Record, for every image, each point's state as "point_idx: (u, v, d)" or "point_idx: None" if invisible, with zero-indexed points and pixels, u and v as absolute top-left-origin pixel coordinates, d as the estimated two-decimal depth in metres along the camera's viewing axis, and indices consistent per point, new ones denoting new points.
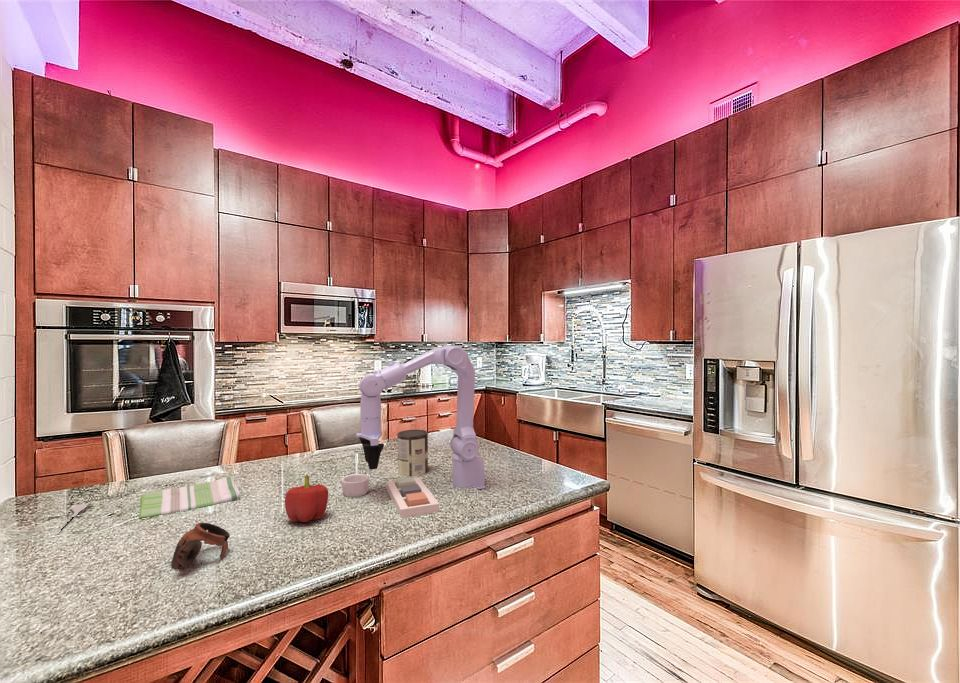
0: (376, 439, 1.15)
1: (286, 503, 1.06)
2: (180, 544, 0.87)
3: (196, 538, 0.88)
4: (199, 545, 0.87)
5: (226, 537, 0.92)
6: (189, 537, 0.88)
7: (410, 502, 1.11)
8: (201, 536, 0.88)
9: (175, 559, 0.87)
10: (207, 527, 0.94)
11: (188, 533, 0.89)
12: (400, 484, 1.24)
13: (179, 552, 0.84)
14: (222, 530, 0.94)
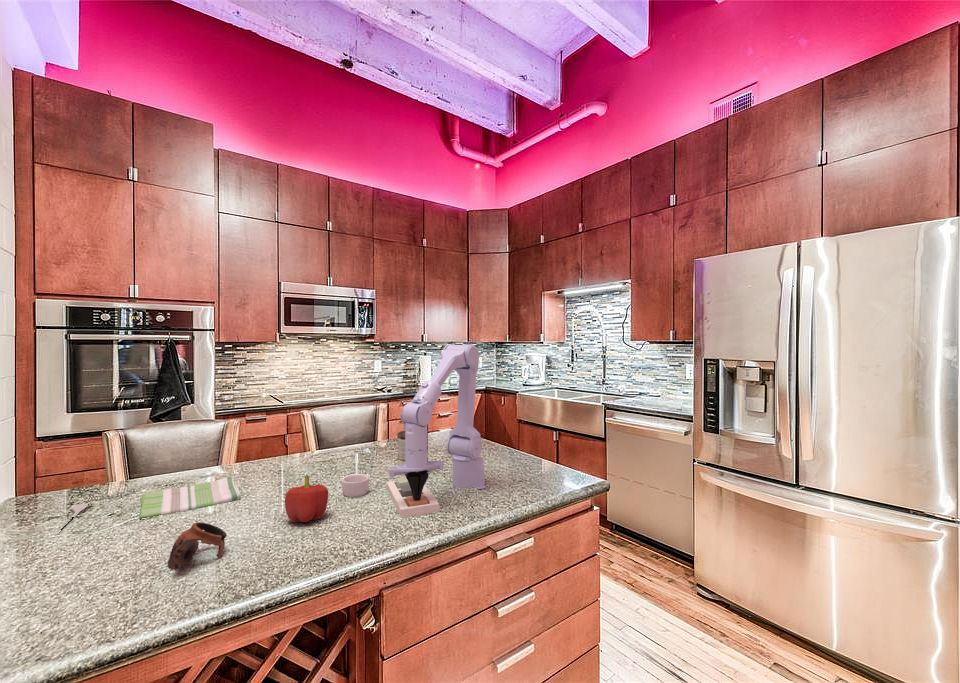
0: (390, 470, 1.10)
1: (286, 503, 1.06)
2: (177, 544, 0.88)
3: (193, 538, 0.88)
4: (196, 545, 0.87)
5: (223, 537, 0.92)
6: (185, 537, 0.88)
7: (410, 505, 1.11)
8: (198, 536, 0.88)
9: (171, 558, 0.87)
10: (203, 527, 0.94)
11: (185, 533, 0.89)
12: (400, 484, 1.24)
13: (176, 552, 0.84)
14: (219, 530, 0.95)
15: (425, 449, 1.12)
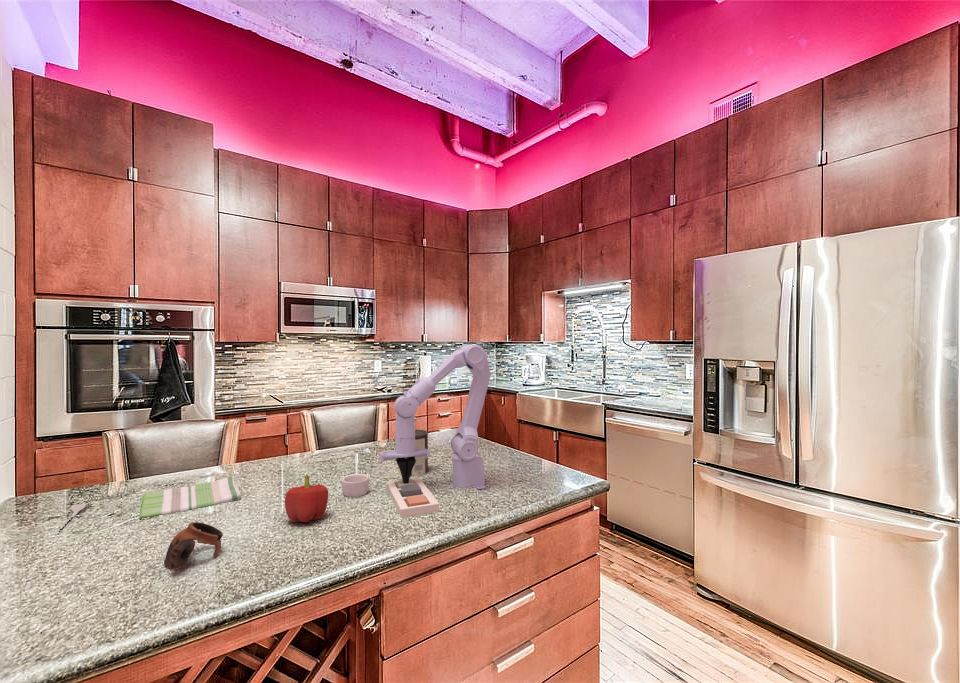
0: (380, 455, 1.23)
1: (286, 503, 1.06)
2: (173, 543, 0.88)
3: (189, 537, 0.88)
4: (192, 544, 0.87)
5: (219, 536, 0.92)
6: (182, 537, 0.88)
7: (410, 505, 1.11)
8: (194, 536, 0.89)
9: (168, 558, 0.87)
10: (200, 526, 0.94)
11: (181, 532, 0.89)
12: (400, 487, 1.24)
13: (172, 551, 0.84)
14: (215, 529, 0.95)
15: (412, 438, 1.25)
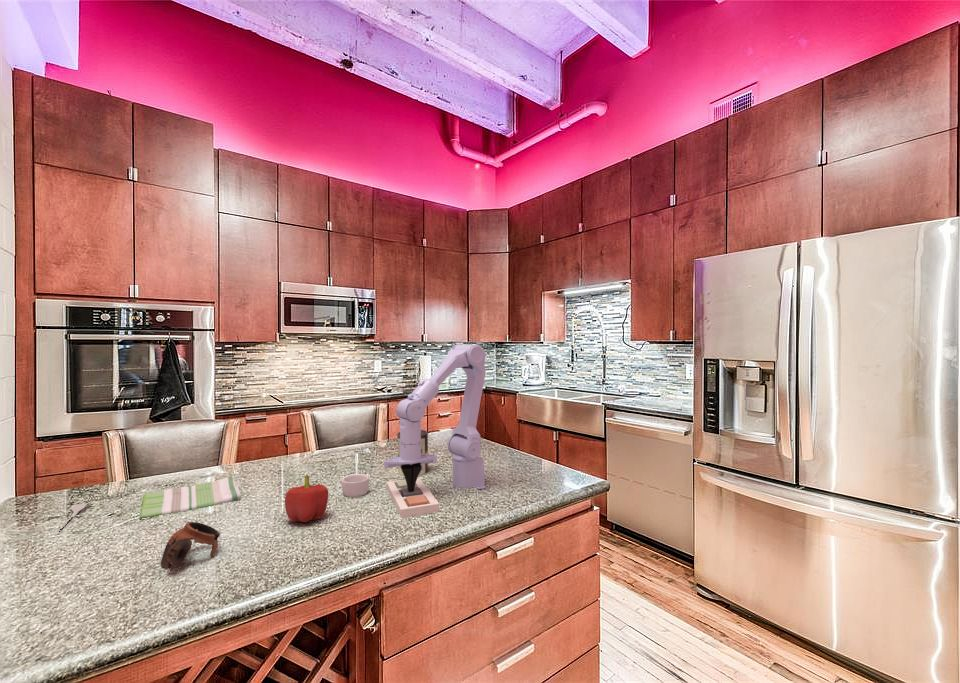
0: (384, 462, 1.17)
1: (286, 503, 1.06)
2: (170, 543, 0.88)
3: (186, 537, 0.88)
4: (189, 544, 0.87)
5: (216, 536, 0.93)
6: (178, 536, 0.88)
7: (410, 505, 1.11)
8: (191, 535, 0.89)
9: (164, 558, 0.87)
10: (196, 526, 0.94)
11: (178, 532, 0.89)
12: (400, 487, 1.24)
13: (169, 551, 0.84)
14: (212, 529, 0.95)
15: (418, 443, 1.18)
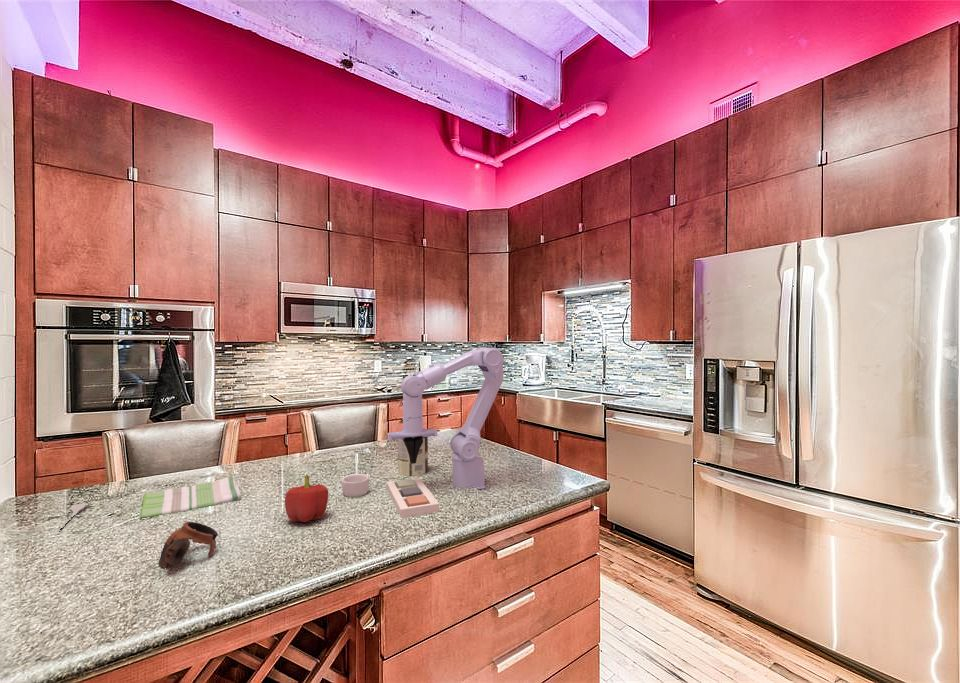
0: (388, 435, 1.23)
1: (286, 503, 1.06)
2: (168, 543, 0.88)
3: (184, 537, 0.88)
4: (187, 544, 0.87)
5: (214, 536, 0.93)
6: (177, 536, 0.88)
7: (410, 505, 1.11)
8: (189, 535, 0.89)
9: (162, 558, 0.87)
10: (194, 526, 0.94)
11: (176, 532, 0.89)
12: (400, 487, 1.24)
13: (167, 551, 0.84)
14: (210, 529, 0.95)
15: (420, 417, 1.25)
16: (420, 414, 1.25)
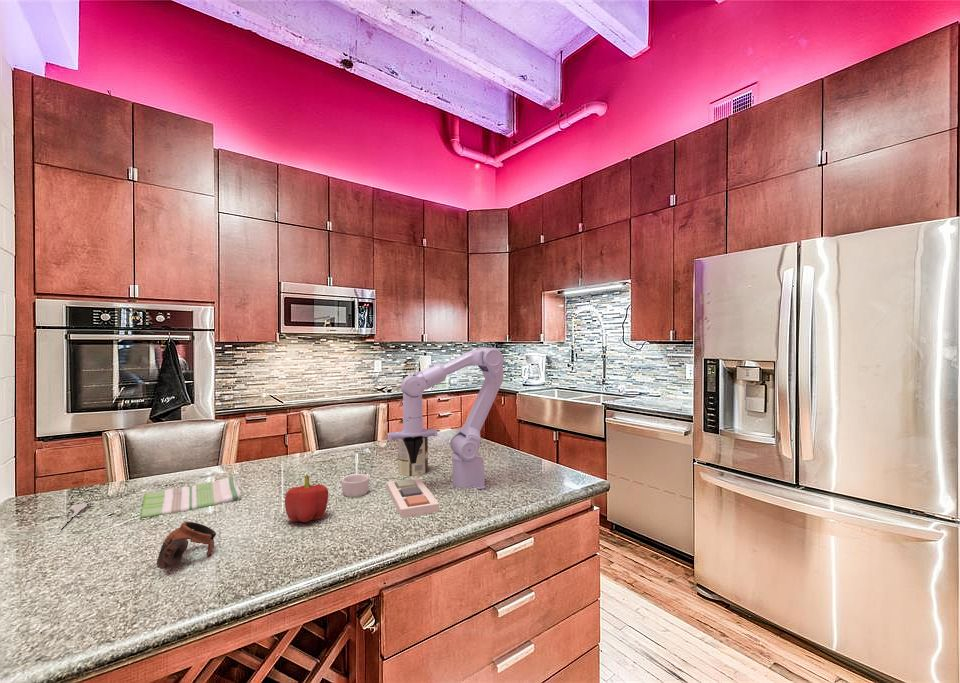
0: (388, 435, 1.23)
1: (286, 503, 1.06)
2: (166, 543, 0.88)
3: (182, 537, 0.88)
4: (185, 544, 0.87)
5: (212, 535, 0.93)
6: (175, 536, 0.88)
7: (410, 505, 1.11)
8: (188, 535, 0.89)
9: (161, 558, 0.87)
10: (192, 526, 0.94)
11: (174, 532, 0.89)
12: (400, 487, 1.24)
13: (165, 551, 0.84)
14: (208, 529, 0.95)
15: (420, 417, 1.25)
16: (420, 414, 1.25)
